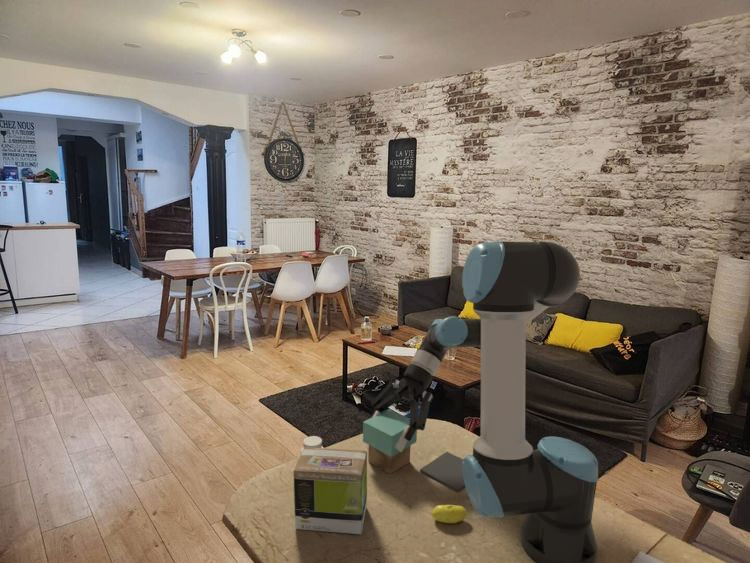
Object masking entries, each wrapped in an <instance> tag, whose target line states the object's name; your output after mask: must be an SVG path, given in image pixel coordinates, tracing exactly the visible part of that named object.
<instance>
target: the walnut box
mask: <svg viewBox="0 0 750 563" xmlns="http://www.w3.org/2000/svg"><path fill="white" fill-rule="evenodd" d="M411 446H412V445H410V446H409V447H407V448H405V449H404V450H402V452H399V453H397V454H395V455H394V456H392V457H391V456H389V455H387V454H385V453H383V452H381V451H379V450H378V449H376V448H374V447H372V446H370V445H368V450H367V462H368V461H369V462H368V463H369V464H372V465H373V464H374V465H373V466H375V465H376V466H375V467H377V468H379V469H380V468H381V469H380V470H382V471H383V472H386V473H387V472H388V474H389V473H390V474H389V475H392V474H393V473H394V471H395V472H396V471H397V469H398V470H399V469H400V468H402V467H405V465H407V464H408V463H410V462H411ZM392 472H393V473H392Z"/></svg>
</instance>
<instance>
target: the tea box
mask: <svg viewBox="0 0 750 563" xmlns="http://www.w3.org/2000/svg"><path fill="white" fill-rule="evenodd" d="M300 453H301V452H300ZM367 497H368V450H360V449H359V450H355V449H343V448H342V449H341V448H340V449H339V448H338V449H337V448H327V447H323V448H309V447H304V449H303V451H302V453H301V456H299V458H298V460H297V462H296V465H295V466H294V469H293V498H294V499H293V503H294V527H295V529H296V530H305V531H306V530H307V531H318V532H329V533H330V532H331V533H342V534H351V535H352V534H353V535H362V534H363V528H364V522H365V516H366V512H367V511H366V510H367V505H368V504H367V503H368V502H367V500H368V498H367Z"/></svg>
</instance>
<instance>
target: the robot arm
mask: <svg viewBox="0 0 750 563" xmlns="http://www.w3.org/2000/svg"><path fill="white" fill-rule="evenodd" d="M580 274H581V272H580V266H579V264H578V261H577V259H576V258H575V256H574V254H572V252H570V251H569V249H567V248H565V247H564V246H562V245H560V244H558V243H556V242H552V241H500V240H497V241H489V242H488V241H487V242H480V243H478V244H475V245H474V246H473V248H471V250H470V251H469V253H468V254H467V257H466V258H465V262H464V266H463V269H462V276H461V278H462V282H461V285H462V289H463V291H462V292H463V297H464V298H465V300H466V301H467V302H470V303H471V304H472V310H473V312H474V313H475V314H476V315H477V316H478V317H479V318H465V319H463V318H460V317H458V316H455V315H454V316H448V317H445V318H443V319H442V318H437V319H434V320H433V322H432V324H431V325H430V326H429V327H428V330H427V332H426V333H425V336H424V338H423V340H422V341H421V343H420V345H419V347H418V349H417V350H416V352H415V353H414V355H413V357H412V359H411V360H410V364H409V365H408V366H407V368H406V370H405V371H404V373H403V378H401V379H400V380H397V379H396V378H394V377H391V379H390V381H389V382H388V384H387V385H386V386H385V387H384V389H383V390H381V391H380V393H379V394H377V396H376V397H375V398H374V399H373V400H372V401H371V402H370V406H372V407H373V411H372V413H371V415H370V417H369V418H368V419H370V418H372V417H374V416H376V415H378V414H380V413H382V412H384V411H386V410H388V409H389V408H390V407H391V406H393V405H394V404H396V403H398V401H401V400H405V401H408V402H409V404H410V405H409V406H410V407H409V408H410V409H409V412H410V413H409V419H410V424H409V425H410V426H408V425H406V427H405V429H404V431H403V433H402V435H401V436H400V438H399V440H398V442H397V444H396V446H395V448H396V449H397V450H398V451H400V452H402V450H403V448H404V446H405V445H406V443H407V441H410V440H411V439H412V437H413V435H414V433H415V431H416V430H417V431H418V430H419V431H424V430H425V428H426V424H427V419H428V415H429V411H430V406H431V403H432V401H433V400H434V396H433V394H432V393H431V392H430V391H426V390H427V389H428V388H429V386H430V384H431V382H432V380H433V379H434V378H433V376H435V375H436V372H437V371H438V369H439V367H440V365H441V363H442V361H443V360H444V358H445V356H446V355H447V353H448V351H449V350H451V349H455V348H458V349H459V348H460V349H461V348H478V347H479V348H480V436H479V437H477V438H476V439H475V440H474V441H473V443H472V454H468V455H466V456H464V457H463V458H462V459H463V463H462V470H463V478H464V482H465V491H466V492H467V495H468V498H469V502H470V503H471V505H472V506H473V508H474V510H475V511H476V512H477V514H479V515H480V516H482V517H484V518H496V517H497V518H498V517H499V518H500V519H501V518H504V517H509V516H510V517H511V516H518V515H520V516H521V515H526V516H525V519H524V520H523V523H522V524H521V529H520V543H521V546H522V547H523V550H524V551H525V553H526V554H527V555H528V556H529V557H530V558H531V559H532V560H533V561H535V562H536V563H596V560H597V553H598V544H597V540H596V537H595V531H594V528H593V523H592V521H593V520H592V518H593V512H594V503H595V497H596V491H597V490H596V489H597V483H598V481H599V462H598V459H597V457H596V456H595V454H594V453H593V452H592V451H590V450H589V449H588V448H587V447H586V446H584V445H582V444H581V443H578V442H576V441H573V440H572V439H569V438H565V437H559V436H545V437H542V438H541V439H540V440H539V442H538V443H537V449H533V445H531V444H530V443H529V442H528V440H527V439H526V364H527V363H526V362H527V360H526V357H527V356H526V353H527V351H526V345H527V344H526V342H527V339H526V336H527V335H526V334H527V328H526V327H527V324H528V323H530V322H531V321H532V320H534V319H535V318H536V317H538V316H539V315H540V314H541V313H543V312H545V310H547V309H548V308H554V307H555V308H556V307H558V306H560V305H561V304H563V303H564V302H565V301H567V300H568V299H569V298H571V296H573V294H574V293H575V292H576V290H577V288H578V287H579V283H580V277H581V275H580ZM420 398H422V401H421V404H420ZM419 405H420V409H419Z"/></svg>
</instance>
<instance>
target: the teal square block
mask: <svg viewBox="0 0 750 563" xmlns="http://www.w3.org/2000/svg"><path fill="white" fill-rule="evenodd" d="M369 418H370V417H369ZM369 418H368V419H366V420H365V421H362V442H363V443H365V444H367V446H369V445H370V446H372V447H374V448H376V449H378V450H379V451H381V452H383V453H385V454H387V455H389V456H391V457H392V456H394V455H395V454H397V453H399V452H400V451H398V450H397V449H396V448H395V446H396V444H397V442H398V440H399V438H400V436H401V435H402V433H403V431H404V429H405V427H406V425H408V426H410V425H409V424H410V417H407V416H405V415H403V414H401V413H398V412H396V411H394V410H391V409H389V408H387V409H386V410H384V411H383V412H382V413H380V414H378V415H376V416H374V417H372V418H370V419H369ZM417 436H418V430H416V431H415V433H414V435H413V437H412V439H411V440H410V441H407V443H406V445H405V446H404V448H403V450H404V449H405V448H407V447H409V446H410V445H411V446H412V445H413V444H416V443H417V441H418V440H417ZM411 446H410V447H411Z"/></svg>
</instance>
